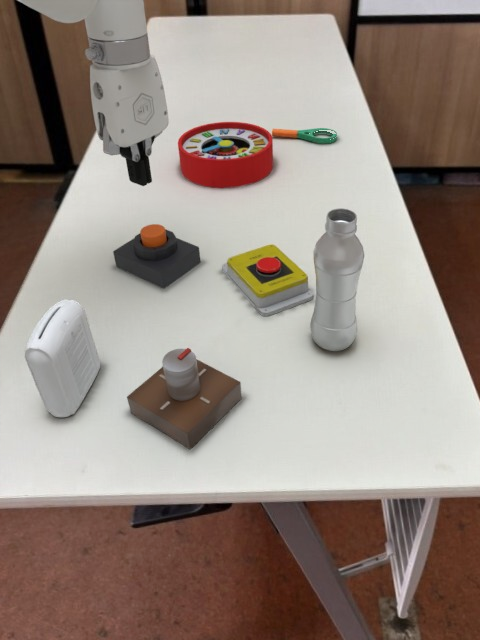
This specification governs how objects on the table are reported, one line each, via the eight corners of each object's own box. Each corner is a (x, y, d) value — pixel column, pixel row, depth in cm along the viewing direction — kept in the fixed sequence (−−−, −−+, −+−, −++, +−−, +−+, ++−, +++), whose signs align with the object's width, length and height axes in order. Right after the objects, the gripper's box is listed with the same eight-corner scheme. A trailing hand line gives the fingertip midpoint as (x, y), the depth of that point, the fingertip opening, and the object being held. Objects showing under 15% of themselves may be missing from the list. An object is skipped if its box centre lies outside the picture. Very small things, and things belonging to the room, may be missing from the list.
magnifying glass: (337, 133, 136) (337, 126, 134) (336, 144, 131) (336, 137, 130) (274, 131, 137) (274, 124, 136) (270, 141, 133) (270, 134, 132)
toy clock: (292, 142, 118) (210, 169, 110) (291, 169, 122) (212, 197, 114) (237, 114, 131) (160, 137, 122) (239, 139, 135) (164, 163, 126)
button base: (116, 267, 96) (110, 241, 93) (153, 243, 102) (149, 218, 98) (164, 289, 91) (159, 263, 88) (200, 262, 97) (197, 237, 93)
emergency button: (263, 294, 83) (217, 246, 92) (263, 318, 85) (219, 268, 95) (316, 275, 86) (267, 230, 96) (315, 298, 89) (267, 252, 99)
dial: (186, 405, 69) (181, 374, 65) (161, 392, 70) (154, 361, 67) (206, 385, 71) (202, 354, 68) (181, 373, 73) (176, 342, 69)
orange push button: (137, 243, 93) (135, 232, 92) (154, 232, 95) (152, 221, 94) (155, 250, 91) (153, 239, 90) (172, 239, 94) (170, 228, 92)
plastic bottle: (323, 362, 78) (332, 235, 65) (301, 333, 83) (304, 209, 69) (364, 349, 80) (380, 223, 67) (340, 321, 85) (351, 197, 71)
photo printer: (76, 360, 79) (52, 289, 71) (105, 363, 79) (84, 292, 71) (42, 416, 72) (11, 344, 64) (74, 420, 71) (47, 348, 63)
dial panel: (130, 412, 72) (126, 395, 70) (183, 367, 78) (181, 350, 76) (190, 449, 68) (187, 432, 66) (241, 398, 74) (240, 380, 71)
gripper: (95, 68, 68) (121, 208, 80) (180, 41, 77) (192, 170, 89) (54, 58, 71) (85, 194, 83) (140, 33, 80) (157, 159, 92)
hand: (140, 181), depth 86 cm, fingers closed
